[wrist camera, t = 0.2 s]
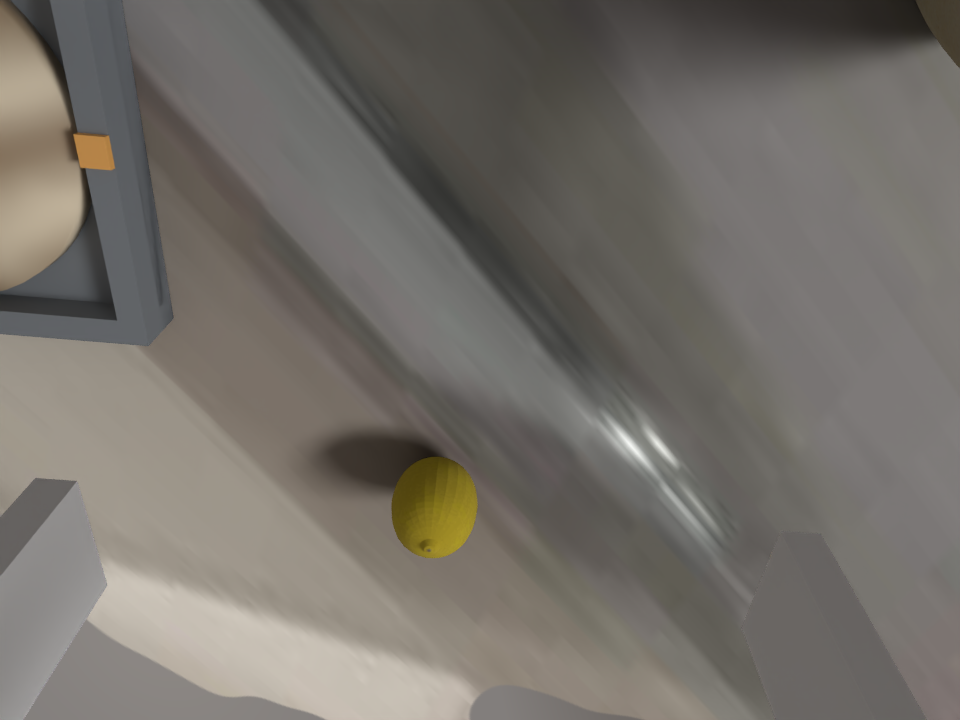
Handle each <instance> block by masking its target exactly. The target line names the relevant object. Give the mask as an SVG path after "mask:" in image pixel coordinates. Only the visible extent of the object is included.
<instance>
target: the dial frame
mask: <svg viewBox="0 0 960 720" xmlns="http://www.w3.org/2000/svg"><path fill="white" fill-rule="evenodd" d="M11 1H12V2H13V4H14V5H15V6H16V7H17V8H18V9H19V10H20V11H21V12H22V13H23V14H24V15H25V16H26V17H27V18H28V19H29V21H30V22H31V23H32V25H33V26H34V27H35V28H36V30H37V31H38V32H39V33H40V35H41V36H42V37H43V38H44V40H45V41H46V42H47V44H48V45H49V47H50V48H51V50H52V52H53V53H54V55H55V56H56V58H57V59H58V61H59V62H60V64H61V65H62V67H63V69H64V71H65V74H66V79H67V84H68V89H69V93H70V98H71V103H72V108H73V112H74V117H75V122H76V127H77V131H78V133H75V134H73V135H74V140H75V144H76V149H77V154H78V158H79V163H80V168H85V169H86V174H87V179H88V184H89V188H90V193H91V198H92V202H91V206H90V209H89V212H88V215H87V219H86V222H85V224H84V226H83V227H82V229H81V231H80V233H79V235H78V237H77V239H76V240H75V241H74V242H73V244H72V245H71V246H70V248H69V249H68V250H67V251H66V252H65V253H64V254H63V255H62V256H61V257H60V258H59V259H58V260H57V261H55V262H54V263H53V264H51V265H50V266H49V267H47V268H46V269H44V270H43V271H41V272H40V273H38V274H37V275H35V276H33V277H32V278H30V279H29V280H27V281H25V282H24V283H21V284H19V285H17V286H14V287H12V288H9V289H7V290H3V291H0V334H7V335H20V336H32V337H44V338H57V339H69V340H81V341H93V342H106V343H118V344H130V345H142V346H149V345H150V344H151V343H152V342H153V341H154V339H155V338H156V337H157V336H158V335H159V334H160V333H161V332H162V331H163V329H164V328H165V327H166V326H167V325H168V324H169V323H170V322H171V321H172V320H173V312H172V306H171V300H170V294H169V288H168V282H167V276H166V269H165V263H164V257H163V251H162V245H161V239H160V233H159V227H158V220H157V214H156V208H155V202H154V196H153V190H152V184H151V177H150V171H149V165H148V159H147V153H146V147H145V141H144V135H143V128H142V122H141V116H140V110H139V104H138V98H137V92H136V86H135V79H134V73H133V67H132V61H131V55H130V49H129V43H128V36H127V30H126V24H125V18H124V12H123V6H122V0H11Z"/></svg>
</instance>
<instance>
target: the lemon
mask: <svg viewBox="0 0 960 720" xmlns="http://www.w3.org/2000/svg"><path fill="white" fill-rule="evenodd" d="M476 513H477V496H476V489H475V486H474V483H473V481H472V479H471V477H470V475H469V474H468V473H467V471H466V470H465V469H464V468H463V467H462V466H461V465H459V464H458V463H456V462H455V461H453V460H450V459H448V458H444V457H429V458H424V459H421V460H419V461H417V462H415V463H413V464H412V465H411V466H410V467H409V468H407V469H406V470H405V472H404V473H403V474H402V476H401V477H400V479H399V480H398V482H397V484H396V487H395V491H394V494H393V498H392V521H393V526H394V529H395V532H396V534H397V537H398V539H399V540H400V541H401V543H402V544H403V545H404V547H406V548H407V549H408V550H409V551H411V552H412V553H414V554H416V555H418V556H422V557H425V558H440V557H444V556H447V555H449V554H451V553H453V552H455V551H456V550H457V549H459V548H460V547H461V546H462V545H463V544H464V543H465V541H466V540H467V538H468V536H469V535H470V533H471V531H472V528H473V526H474V522H475V518H476Z"/></svg>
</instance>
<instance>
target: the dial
mask: <svg viewBox="0 0 960 720" xmlns="http://www.w3.org/2000/svg"><path fill="white" fill-rule="evenodd" d="M75 133H78V131H77V127H76V122H75V117H74V112H73V108H72V103H71V98H70V93H69V89H68V84H67V79H66V74H65V71H64V69H63V67H62V65H61V64H60V62H59V61H58V59H57V58H56V56H55V55H54V53H53V52H52V50H51V48H50V47H49V45H48V44H47V42H46V41H45V40H44V38H43V37H42V36H41V35H40V33H39V32H38V31H37V30H36V28H35V27H34V26H33V25H32V23H31V22H30V21H29V19H28V18H27V17H26V16H25V15H24V14H23V13H22V12H21V11H20V10H19V9H18V8H17V7H16V6H15V5H14V4H13V2H12V1H11V0H0V291H3V290H7V289H9V288H12V287H14V286H17V285H19V284H21V283H24V282H25V281H27V280H29V279H30V278H32V277H33V276H35V275H37V274H38V273H40V272H41V271H43V270H44V269H46V268H47V267H49V266H50V265H51V264H53V263H54V262H55V261H57V260H58V259H59V258H60V257H61V256H62V255H63V254H64V253H65V252H66V251H67V250H68V249H69V248H70V246H71V245H72V244H73V242H74V241H75V240H76V239H77V237H78V235H79V233H80V231H81V229H82V227H83V226H84V224H85V222H86V219H87V215H88V212H89V209H90V206H91V202H92V198H91V193H90V188H89V184H88V179H87V174H86V169H85V168H80V163H79V158H78V154H77V149H76V144H75V140H74V135H73V134H75Z"/></svg>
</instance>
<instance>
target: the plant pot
mask: <svg viewBox="0 0 960 720" xmlns="http://www.w3.org/2000/svg"><path fill="white" fill-rule="evenodd" d="M915 1H916V3H917V5H918V7H919V9H920V11H921V13H922V15H923V17H924V19H925V21H926V23H927V25H928V27H929V28H930V30H931V31H932V33H933V35H934V36H935V38H936V39H937V40H938V42H939V43H940V45H941V46H942V47H943V49H944V50H945V51H946V52H947V54H948V55H949V56H950V57H951V59H952V60H953V61H954V62H955V64H956V65H957V66H958V67H959V68H960V0H915Z"/></svg>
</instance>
